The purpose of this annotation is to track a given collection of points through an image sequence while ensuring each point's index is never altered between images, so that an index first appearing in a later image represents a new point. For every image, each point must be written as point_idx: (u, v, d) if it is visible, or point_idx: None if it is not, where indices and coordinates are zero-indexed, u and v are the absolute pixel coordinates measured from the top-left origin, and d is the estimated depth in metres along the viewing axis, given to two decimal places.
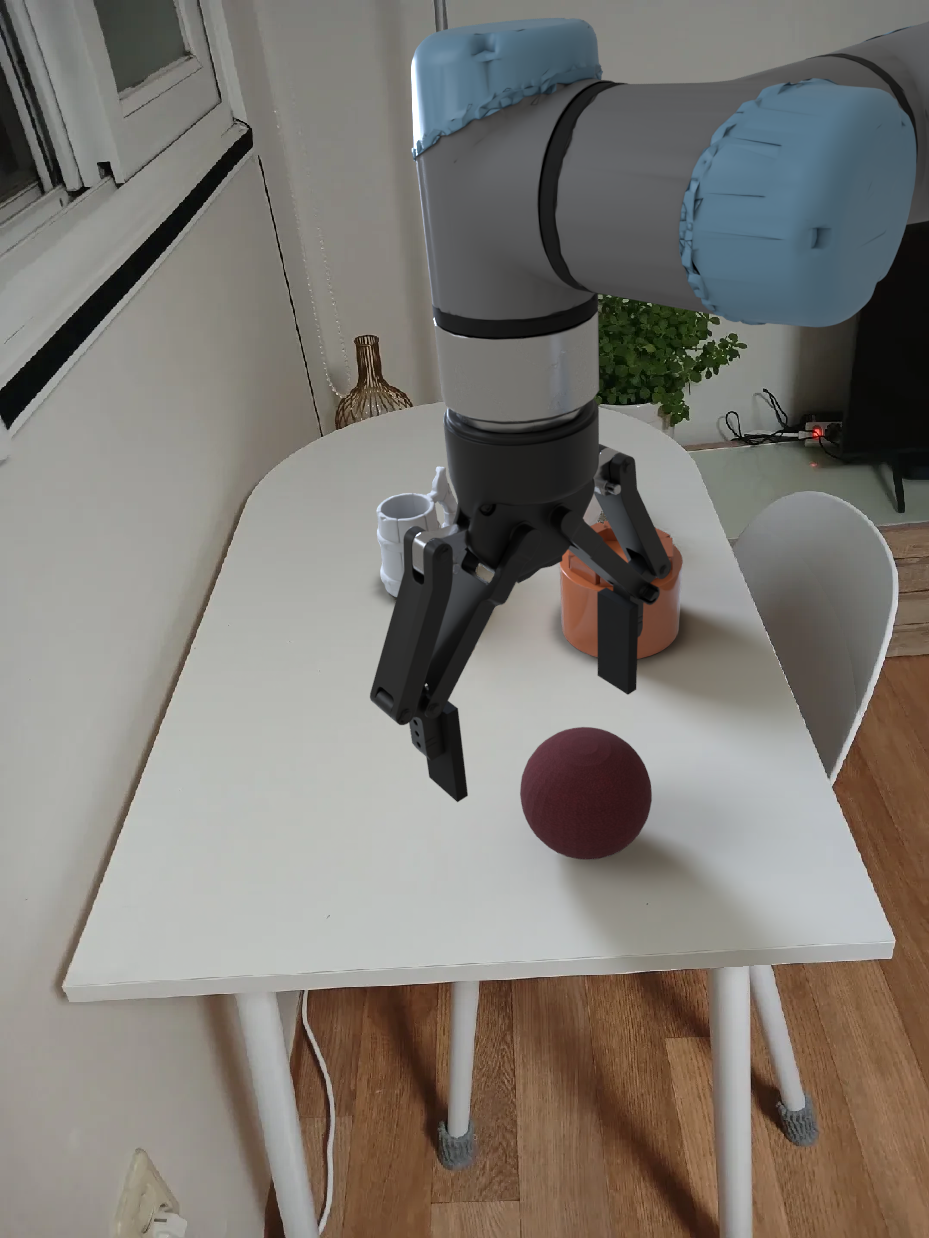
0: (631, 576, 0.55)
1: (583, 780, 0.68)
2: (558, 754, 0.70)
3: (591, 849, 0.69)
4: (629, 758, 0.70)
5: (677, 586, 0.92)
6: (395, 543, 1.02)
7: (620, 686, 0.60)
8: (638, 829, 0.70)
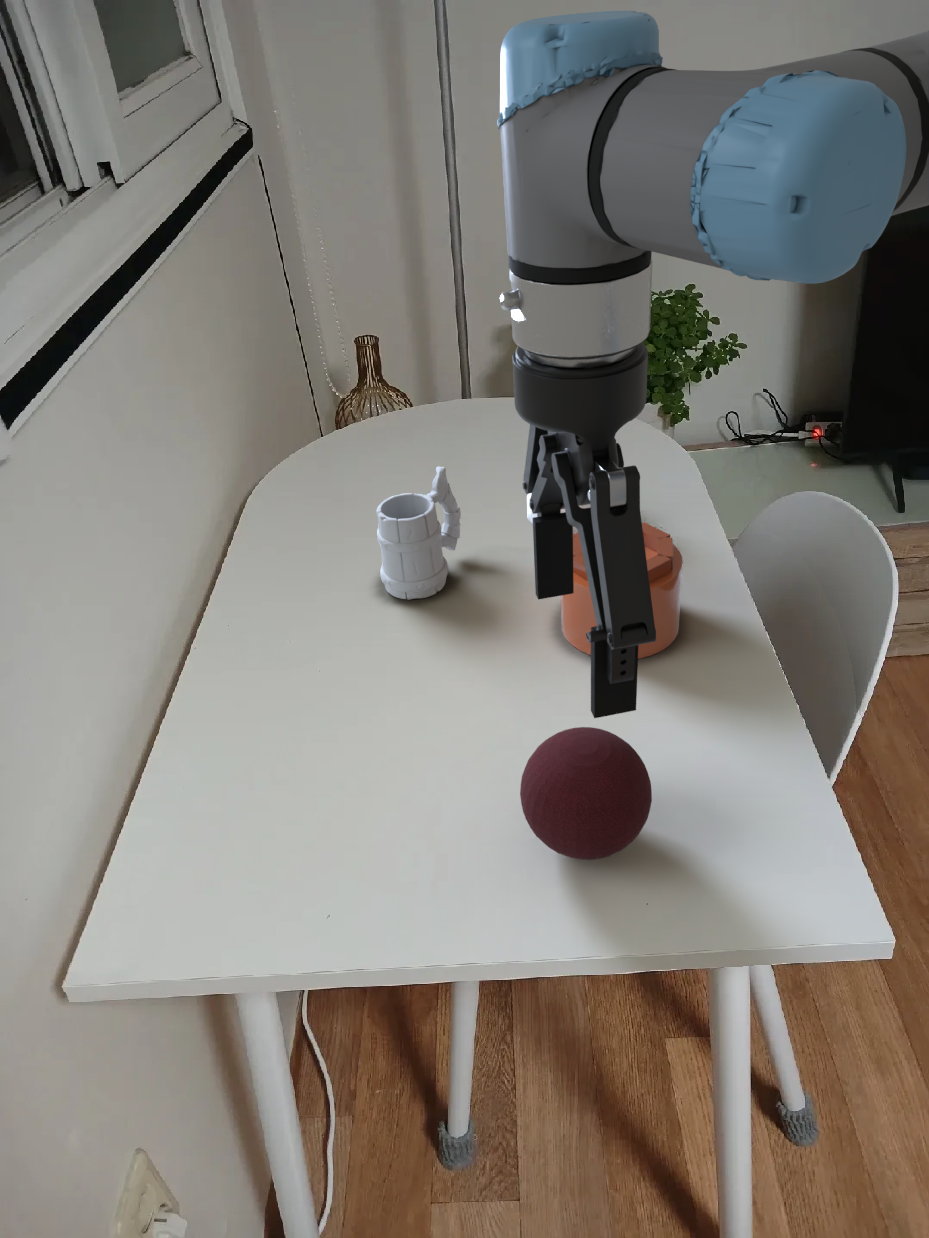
0: None
1: (583, 780, 0.68)
2: (558, 754, 0.70)
3: (591, 849, 0.69)
4: (629, 758, 0.70)
5: (677, 586, 0.92)
6: (395, 543, 1.02)
7: (564, 591, 0.70)
8: (638, 829, 0.70)
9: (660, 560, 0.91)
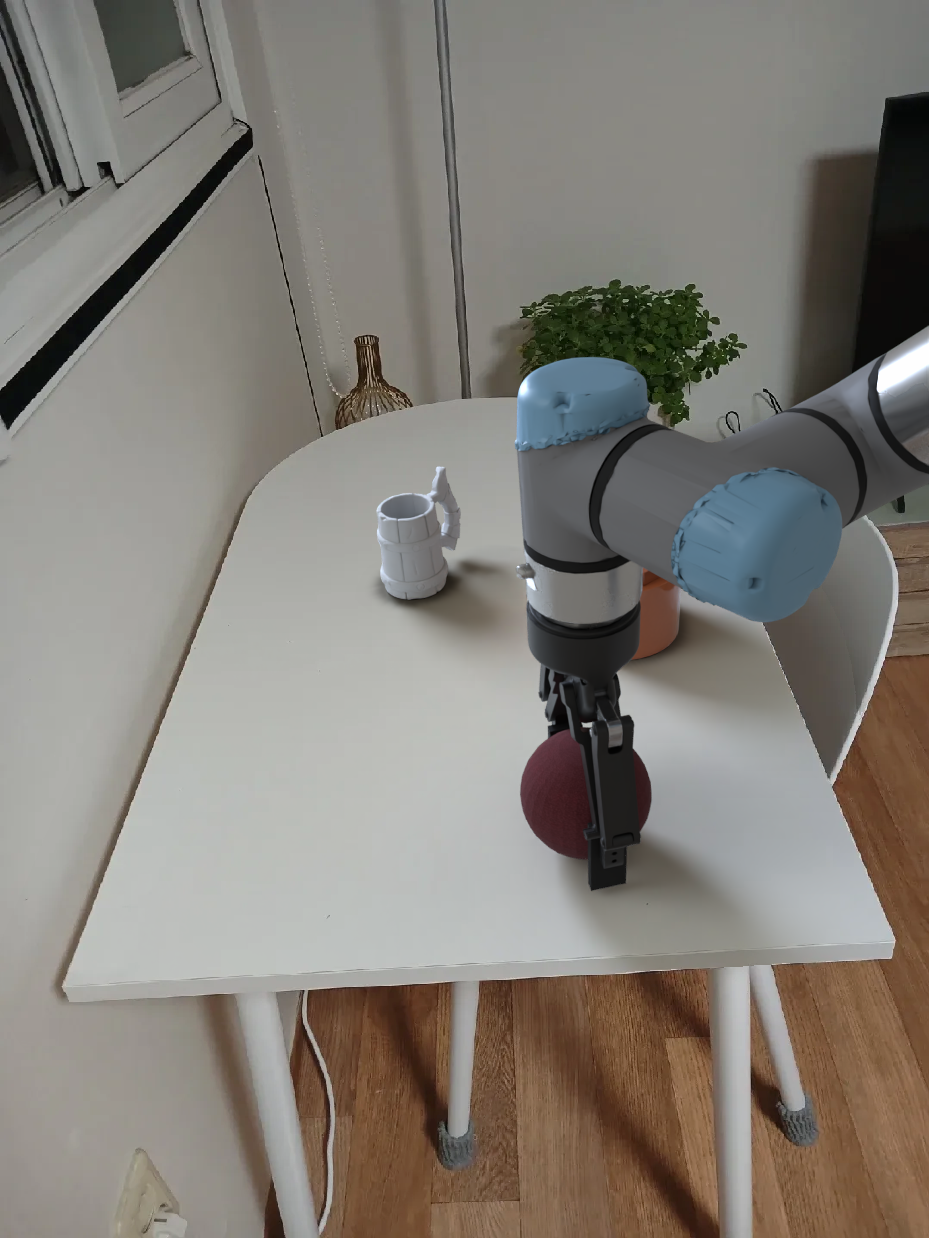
0: None
1: (583, 780, 0.68)
2: (558, 754, 0.70)
3: None
4: None
5: None
6: (395, 543, 1.02)
7: None
8: None
9: None
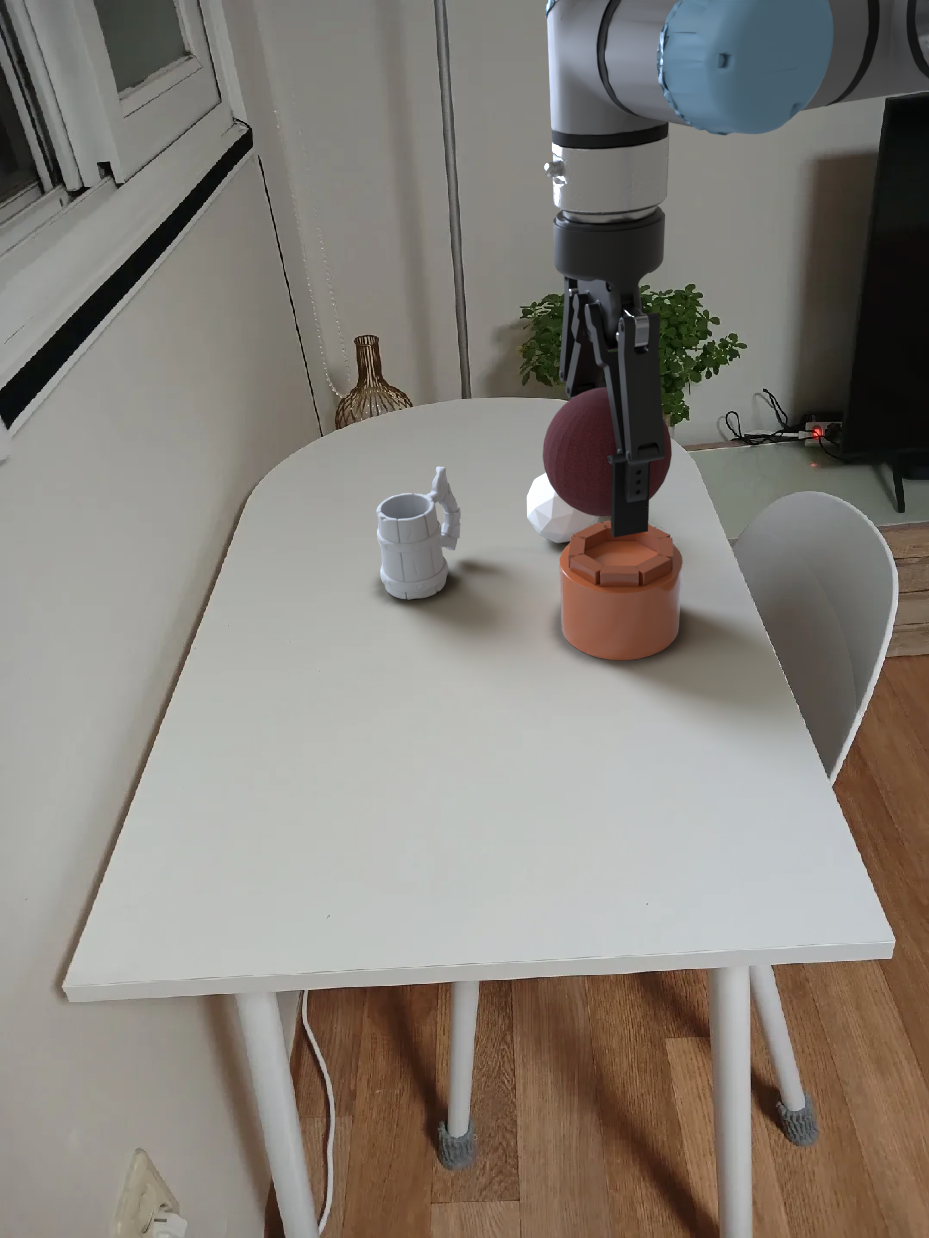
0: None
1: (606, 418, 0.70)
2: (581, 402, 0.72)
3: None
4: None
5: (677, 586, 0.92)
6: (395, 543, 1.02)
7: None
8: (659, 476, 0.72)
9: (660, 560, 0.91)
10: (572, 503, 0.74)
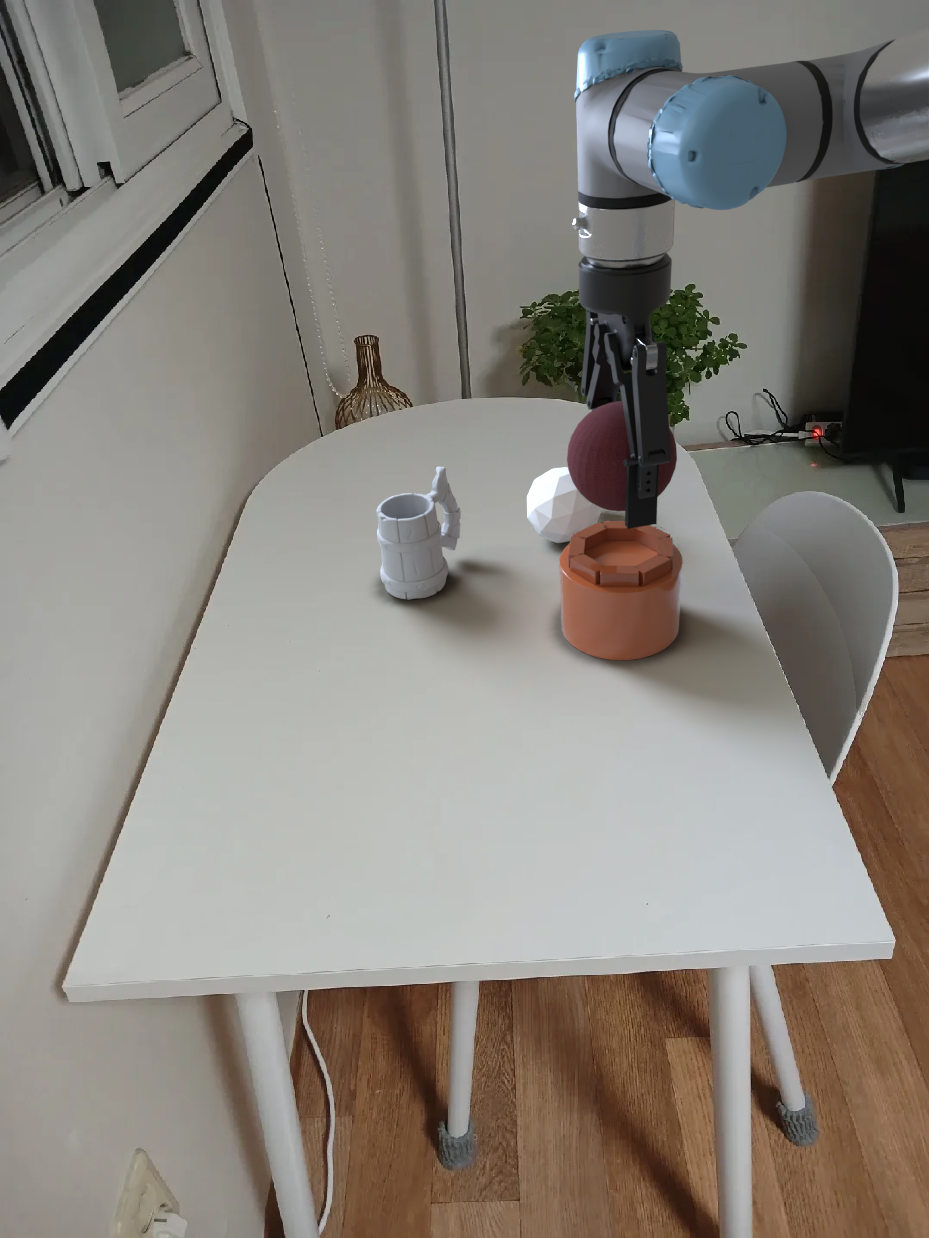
0: None
1: (621, 428, 0.83)
2: (600, 414, 0.85)
3: None
4: None
5: (677, 586, 0.92)
6: (395, 543, 1.02)
7: None
8: (666, 477, 0.85)
9: (660, 560, 0.91)
10: (592, 499, 0.87)
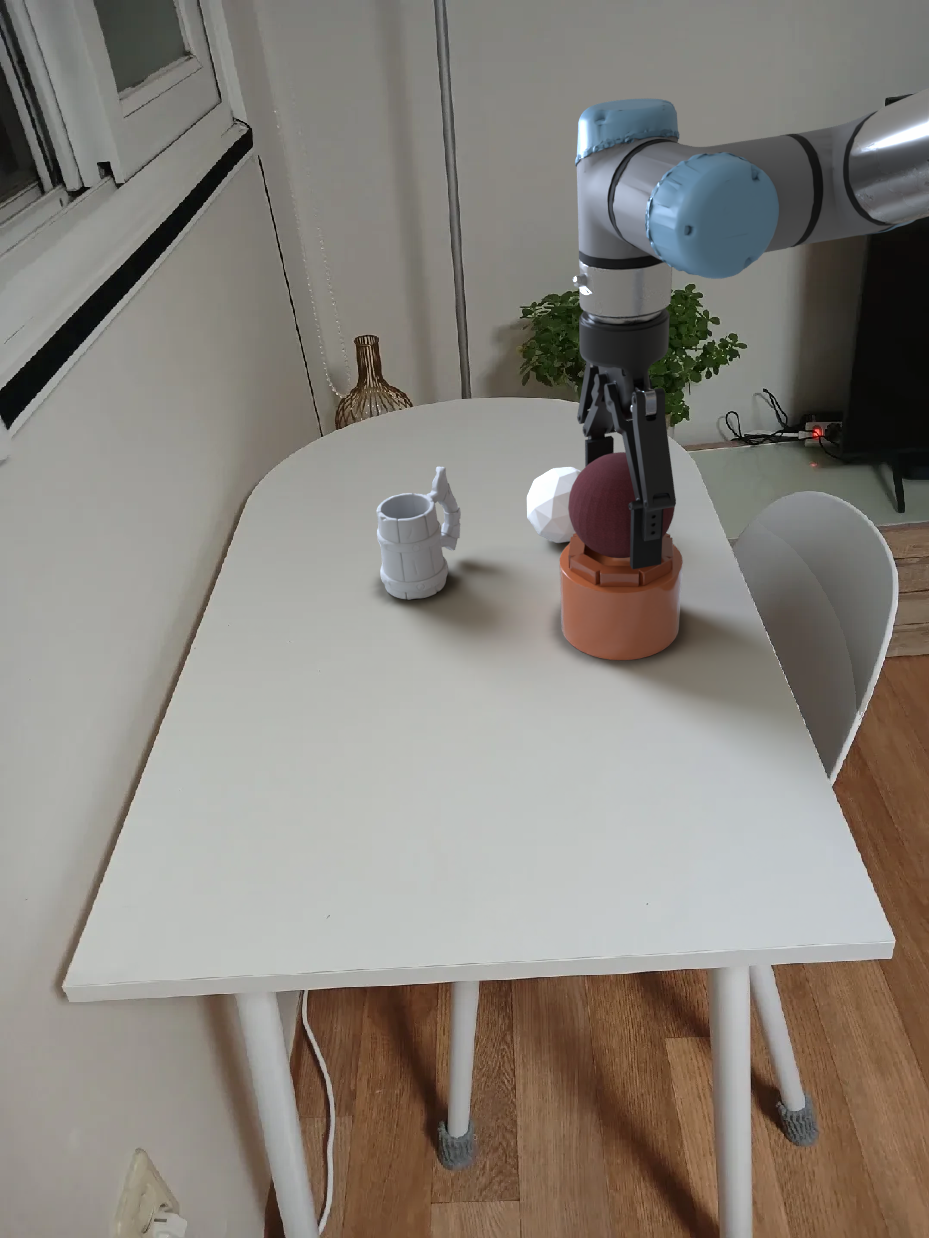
0: None
1: (621, 480, 0.86)
2: (600, 465, 0.88)
3: (627, 539, 0.87)
4: None
5: (677, 586, 0.92)
6: (395, 543, 1.02)
7: None
8: (664, 526, 0.88)
9: None
10: (592, 547, 0.90)
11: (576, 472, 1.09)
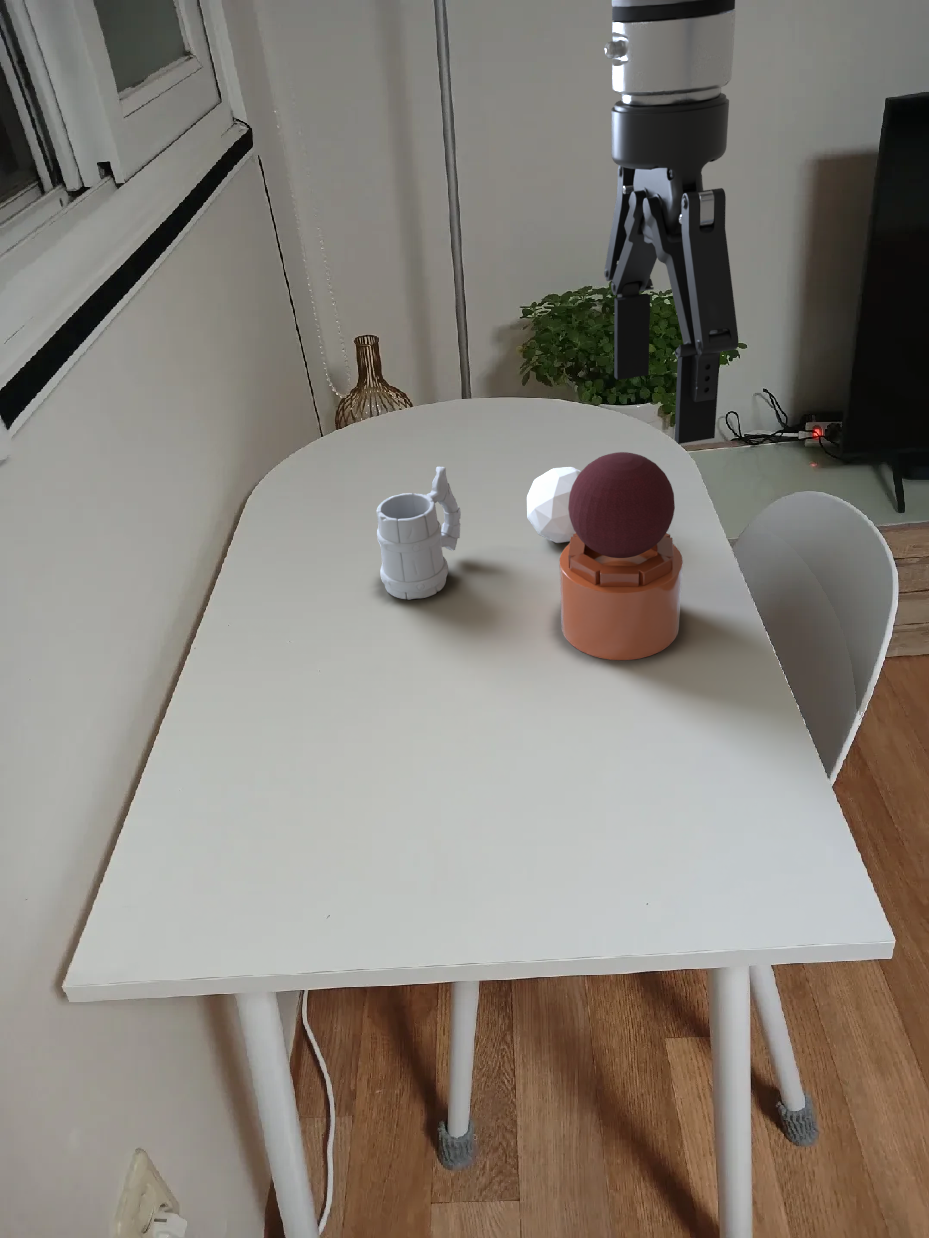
0: None
1: (621, 480, 0.86)
2: (600, 465, 0.88)
3: (627, 539, 0.87)
4: (657, 469, 0.88)
5: (677, 586, 0.92)
6: (395, 543, 1.02)
7: (640, 373, 0.79)
8: (664, 526, 0.88)
9: (660, 560, 0.91)
10: (592, 547, 0.90)
11: (576, 472, 1.09)
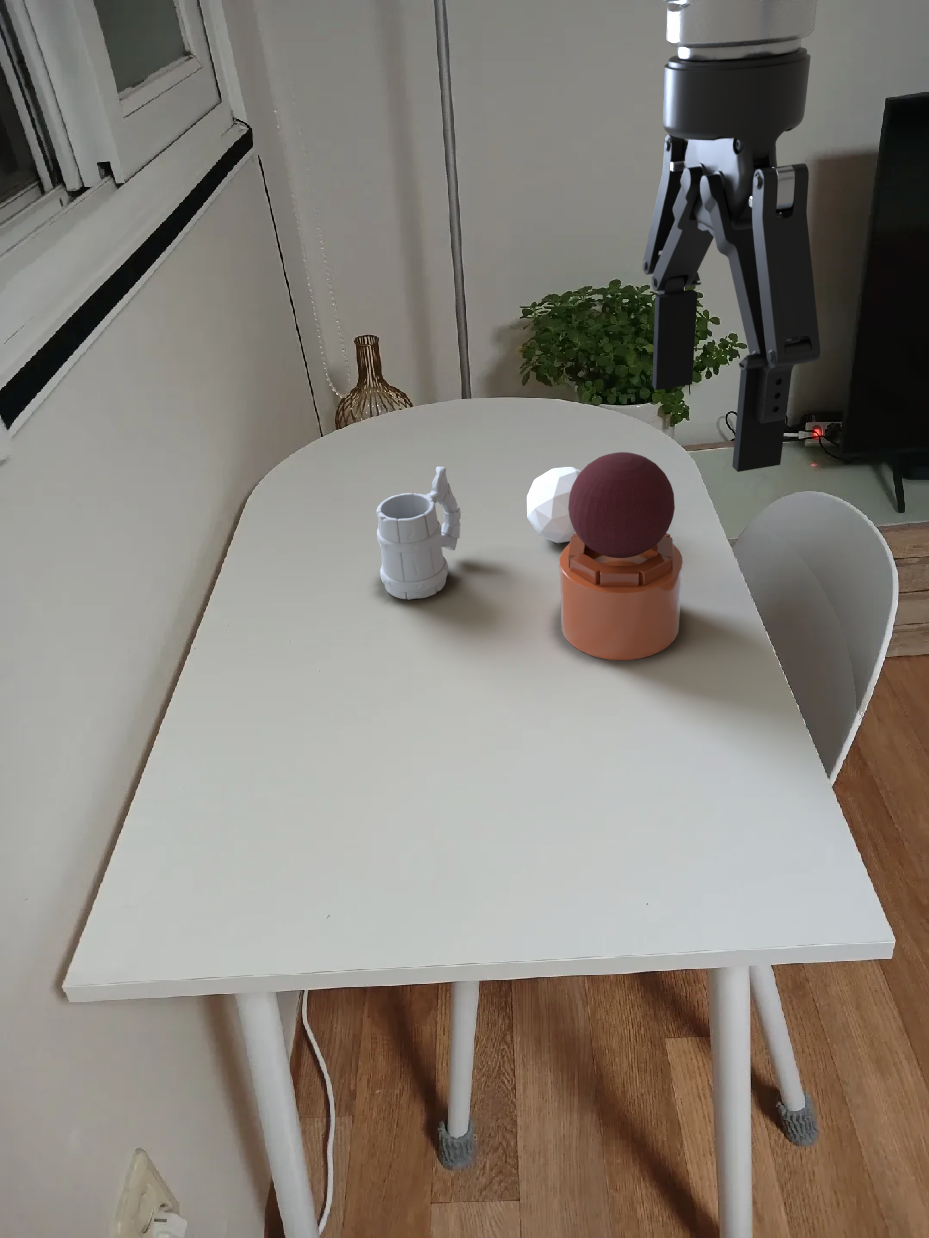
0: None
1: (621, 480, 0.86)
2: (600, 465, 0.88)
3: (627, 539, 0.87)
4: (657, 469, 0.88)
5: (677, 586, 0.92)
6: (395, 543, 1.02)
7: (683, 382, 0.68)
8: (664, 526, 0.88)
9: (660, 560, 0.91)
10: (592, 547, 0.90)
11: (576, 472, 1.09)
